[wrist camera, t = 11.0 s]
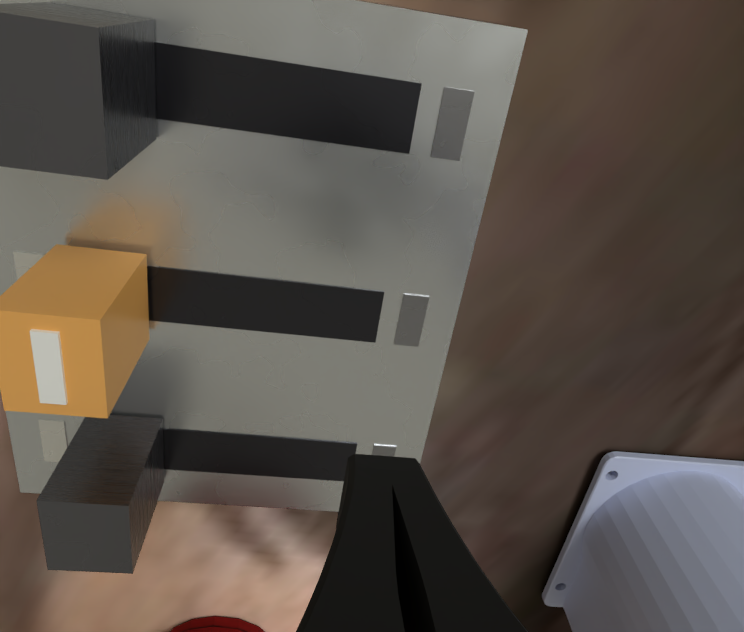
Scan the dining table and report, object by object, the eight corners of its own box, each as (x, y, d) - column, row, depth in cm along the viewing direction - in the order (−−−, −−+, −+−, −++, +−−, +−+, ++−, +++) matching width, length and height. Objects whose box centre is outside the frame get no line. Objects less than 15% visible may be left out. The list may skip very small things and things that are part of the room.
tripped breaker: (149, 339, 18) (106, 421, 14) (66, 331, 18) (2, 413, 14) (146, 254, 16) (98, 322, 13) (56, 244, 16) (-17, 311, 13)
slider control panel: (401, 478, 24) (420, 608, 19) (44, 453, 23) (-41, 589, 17) (506, 25, 16) (587, 41, 11) (-33, -67, 15) (-233, -99, 9)
